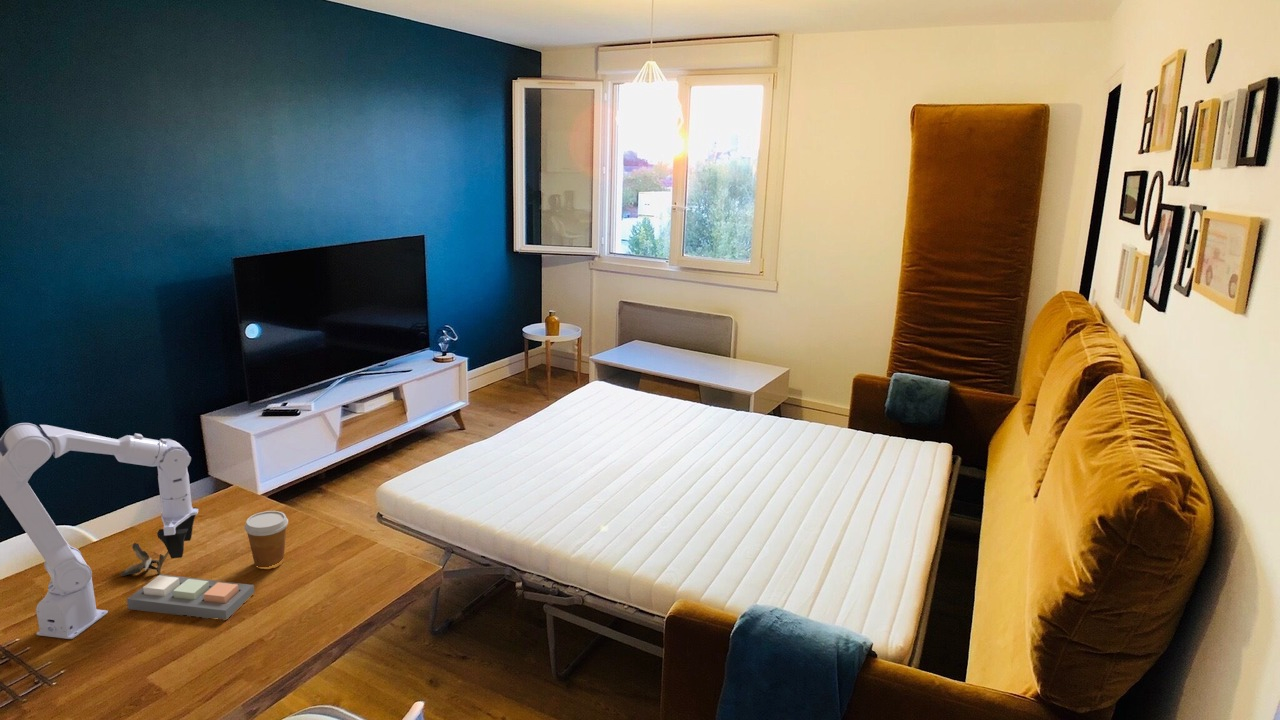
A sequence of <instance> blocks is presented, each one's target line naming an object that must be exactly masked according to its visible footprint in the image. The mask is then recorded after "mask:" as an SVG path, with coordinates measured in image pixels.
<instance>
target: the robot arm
mask: <svg viewBox="0 0 1280 720" xmlns="http://www.w3.org/2000/svg"><path fill="white" fill-rule="evenodd" d="M39 426H40V427H39ZM39 426H38V425H36V424H33V423H32V422H31V423H30V422H20V423H16V424H14V425H11V426H10V427H9V428H8V429H6V430H5V431H4V433H3V434H2V435H1V437H0V497H1V498H2V500H3V501H4V503H5V504H6V506H7V507H8V508H9V510H10V511H11V513H12V514H13V515H14V517H15V519H16V520H17V521H18V523H19V524H20V526H21V528H22V529H23V530H24V531H25V533H26V535H27V536H28V538H29V539H30V540H31V542H32V543H33V545H34V546H35V547H36V549H37V551H38V552H39V553H40V555H41V556H42V559H44V569H45V571H46V572H47V573H48V574H49V576H50V581H49V584H48V586H47V589H48V590H47V592H46V594H45V596H44V597H43V598H42V600H40V601H39V602H37V605H36V610H35V611H36V618H37V623H38V629H39V630H38V631H37V632H36V636H42V637H50V638H57V639H65V640H66V639H67V640H72V639H75V638H76V637H78V636H79V635H80V634H81V633H83V632H84V631H86V630H87V629H88V628H89V627H91V626H92V625H94V624H95V623H96V622H98V621H100V619H102V618H103V617H105V616H106V615H107V614H108V613H109V610H106V609H97V603H96V598H95V589H94V584H93V571H92V570H93V569H92V568H91V566H89V565H88V564H87V562H86V560H85V559H84V557H83V555H82V552H81V551H80V550H79V549H78V548H76V547H74V546H71V545H70V544H69V543H68V541H67V540H66V539H65V537H64V536H63V534H62V533H61V531H60V530H59V528H58V527H57V525H56V523H55V522H54V520H53V519H52V518H51V516H50V514H49V513H48V511H47V510H46V508H45V507H44V505H43V504H42V502H41V501H40V499H39V498H38V496H37V495H36V493H35V492H34V490H33V489H32V487H31V485H30V483H28V482H29V480H30V479H31V477H32V475H33V474H34V473H35V472H36V471H37V470H39V468H41V467H42V466H43V465H44V464H45V463H46V462H47V461H49V459H50V458H51V457H52V455H53V457H54V458H55V459H57V458H60V457H61V456H63V455H64V454H66V453H69V452H70V451H73V452H82V453H92V454H93V453H94V454H102V455H111V456H114V457H115V459H116V460H117V462H119V463H123V464H124V463H125V464H132V465H139V466H146V467H157V474H158V475H157V480H158V488H159V498H160V506H161V520H162V523H163V528H160V529H158V531H157V532H156V535H157V538H158V539H159V540H160V541H161V542H162V544H164V546H165V548H166V550H167V552H169V554H168V555H169V556H170V558H171V559H181V558H182V557H183V555H184V549H185V548H184V547H185V542H189V541H191V540H192V535H193V527H194V522H195V518H196V516H197V515H198V513H199V508H198V507H193V505H192V496H191V495H192V494H191V485H190V475H189V471H188V467H189V465H190V463H191V461H192V457H191V456H190V453H189V451H188V450H187V449H186V448H185V447H184V446H182V444H181V443H180V442H177V441H176V440H173V439H172V438H160V439H159V440H158V439H153V438H147V437H144V436H143V435H142V434H141V433H136V432H135V433H134V434H133V435H130V434H129V435H128V434H126V435H124V436H122V437H119V438H118V439H117V438H113V437H112V438H111V437H108V436H107V437H106V436H102V435H97V434H95V433H94V434H93V433H90V432H89V433H88V432H87V433H86V432H83V431H78V430H73V429H68V428H64V427H59V426H54V425H48V424H39Z"/></svg>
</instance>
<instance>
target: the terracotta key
mask: <svg viewBox="0 0 1280 720" xmlns="http://www.w3.org/2000/svg"><path fill="white" fill-rule="evenodd" d="M238 592H239V588H238V584H229V583H220V582H218V583H216V584H215V585H214V586H213V587H212V588H210V589H209V590H208V591H207V592H206V593H204V601H205V602H213V603H222V604H226V603H227V602H228V601H229V600H231V599H232V598H233V597H234V596H235V595H236V594H237V593H238Z"/></svg>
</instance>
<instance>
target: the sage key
mask: <svg viewBox="0 0 1280 720" xmlns="http://www.w3.org/2000/svg"><path fill="white" fill-rule="evenodd" d="M208 589H209V581H203V580H194V579H187V580H186V581H185V582H184V583H182V584H181V585H180V586H179V587H177V588H176V589H175V590H174V591H173V593H174V598H179V599H188V600H196V599H197V598H199V597H200V596H201V595H202V594H203V593H205V592H206V591H207V590H208Z"/></svg>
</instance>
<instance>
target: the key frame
mask: <svg viewBox="0 0 1280 720" xmlns="http://www.w3.org/2000/svg"><path fill="white" fill-rule="evenodd" d="M158 576H168V577H177V578H179V581H180V585H181V584H182V583H184V582H185V581H186V580H187V579H194V580H203V581H209V589H210V588H212V587H213V586H214V585H215V584H216V583H218V582H220V583H229V584H238V588H239V592H238V593H237V594H236V595H235V596H234V597H233V598H232V599H231V600H229V601H228V602H227V603H226V604H222V603H213V602H205V601H204V593H203V594H202V595H201V596H200V597H199V598H197V599H196V600H188V599H179V598H174V593H173V591H174V590H175V589H174V590H173V591H172V592H170V593H169V594H168V595H167V596H165V597H162V596H154V595H145V594H144V590H143V587H144V586H142V587H141V588H140V589H138V590H137V591H136V592H134V593H133V594H132V595H129V597H127V598H126V602H127V609H128V610H134V611H142V612H148V613H149V612H151V613H158V614H166V615H167V614H168V615H176V616H183V615H187V616H186V617H191V616H196V617H195V618H199V617H202V618H201V619H208V618H212V619H211V620H214V619H213V618H218V619H228V618H229V617H230V616H231V615H232V614H233V613H234V612H235V611H236V610H237V609H238V608H239V607H240V606H241V605H242V604H243V603H244V602H245V601H246V600H247V599H248V598H249V597H250V596H251V595H252V594H253V593H254V594H255V584H248V583H239V582H232V581H231V582H230V581H223V580H222V581H221V580H212V579H204V578H197V577H196V578H195V577H187V576H178V575H170V574H169V575H168V574H161V573H160V574H158V575H157V576H156V577H158ZM156 577H155V578H156ZM155 578H153V579H152V580H154V579H155ZM152 580H150V581H149V582H151V581H152ZM147 584H148V583H146V584H145V585H147ZM180 585H179V586H180ZM179 586H178V587H179ZM209 589H208V590H209ZM208 590H207V591H208ZM207 591H206V592H207ZM206 592H205V593H206ZM234 614H235V613H234ZM234 614H233V615H234ZM233 615H232V616H233ZM232 616H231V617H232ZM231 617H230V618H231ZM230 618H229V619H230ZM229 619H228V620H229Z"/></svg>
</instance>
